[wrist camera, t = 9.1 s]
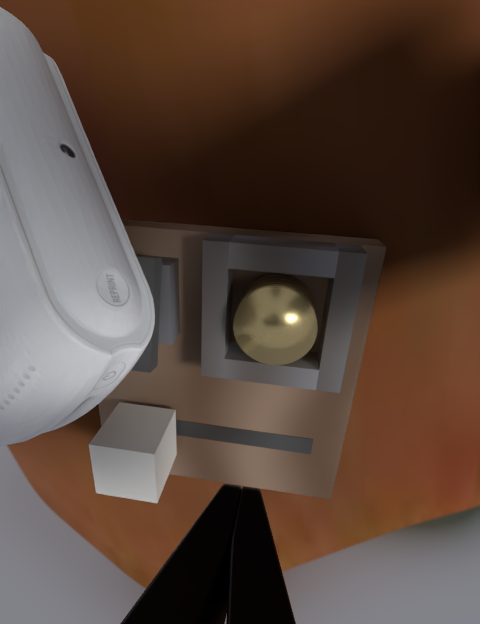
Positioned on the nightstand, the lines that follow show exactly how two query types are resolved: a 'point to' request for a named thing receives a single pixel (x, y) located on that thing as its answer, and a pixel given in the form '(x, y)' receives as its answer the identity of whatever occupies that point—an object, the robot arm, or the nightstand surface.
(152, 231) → the control panel
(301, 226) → the nightstand surface
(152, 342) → the rocker switch
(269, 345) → the brass button
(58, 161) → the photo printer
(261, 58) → the nightstand surface
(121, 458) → the slider knob
